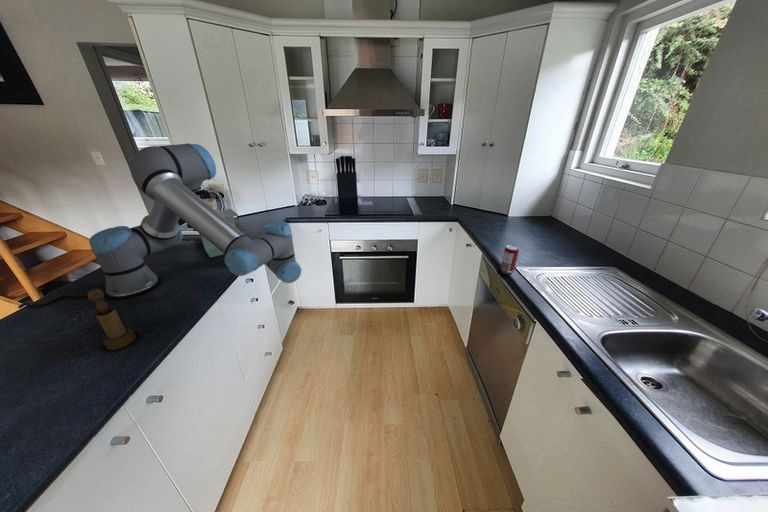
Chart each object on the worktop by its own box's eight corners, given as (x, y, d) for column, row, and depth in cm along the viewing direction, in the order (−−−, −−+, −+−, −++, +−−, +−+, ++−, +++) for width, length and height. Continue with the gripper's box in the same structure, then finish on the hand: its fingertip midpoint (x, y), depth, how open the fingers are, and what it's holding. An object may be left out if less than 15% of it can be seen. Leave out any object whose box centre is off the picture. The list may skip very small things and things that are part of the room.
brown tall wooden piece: (141, 334, 83) (116, 283, 75) (124, 350, 77) (95, 297, 69) (119, 334, 83) (91, 284, 75) (99, 350, 77) (67, 297, 69)
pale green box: (210, 258, 128) (199, 221, 120) (205, 250, 136) (194, 214, 128) (246, 249, 138) (237, 214, 130) (239, 242, 146) (230, 208, 138)
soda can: (512, 269, 122) (518, 244, 117) (514, 275, 117) (520, 250, 112) (499, 267, 123) (504, 243, 118) (500, 273, 118) (506, 248, 113)
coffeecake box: (221, 239, 150) (211, 204, 142) (206, 240, 148) (195, 205, 139) (224, 230, 163) (215, 197, 154) (210, 231, 160) (201, 198, 152)
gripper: (239, 278, 92) (222, 256, 107) (306, 257, 107) (284, 240, 121) (234, 258, 89) (218, 239, 103) (304, 239, 104) (282, 225, 118)
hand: (253, 240), depth 112 cm, fingers open, 13 cm apart
